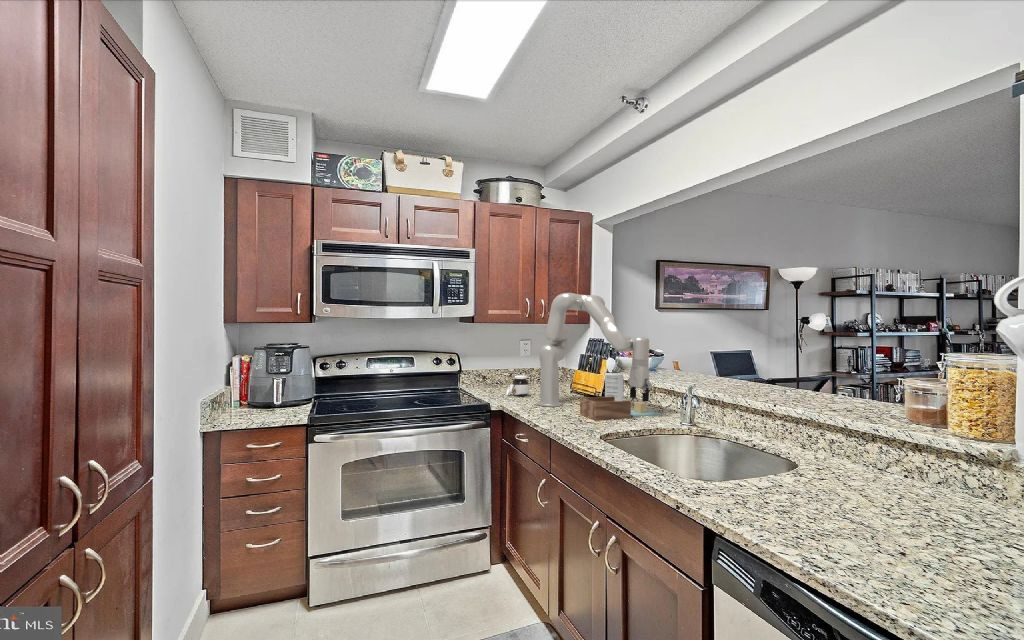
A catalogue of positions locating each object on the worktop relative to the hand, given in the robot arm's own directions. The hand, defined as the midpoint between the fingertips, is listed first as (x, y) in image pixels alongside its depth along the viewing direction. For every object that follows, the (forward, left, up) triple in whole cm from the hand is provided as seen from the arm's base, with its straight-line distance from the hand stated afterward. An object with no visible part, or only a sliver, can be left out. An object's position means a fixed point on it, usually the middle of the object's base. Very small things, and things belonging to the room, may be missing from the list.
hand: (639, 399), depth 225 cm
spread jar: (-70, -35, -7) cm, 78 cm away
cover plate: (0, 0, -7) cm, 7 cm away
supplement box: (-22, 0, -7) cm, 23 cm away
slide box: (0, -19, -7) cm, 20 cm away
